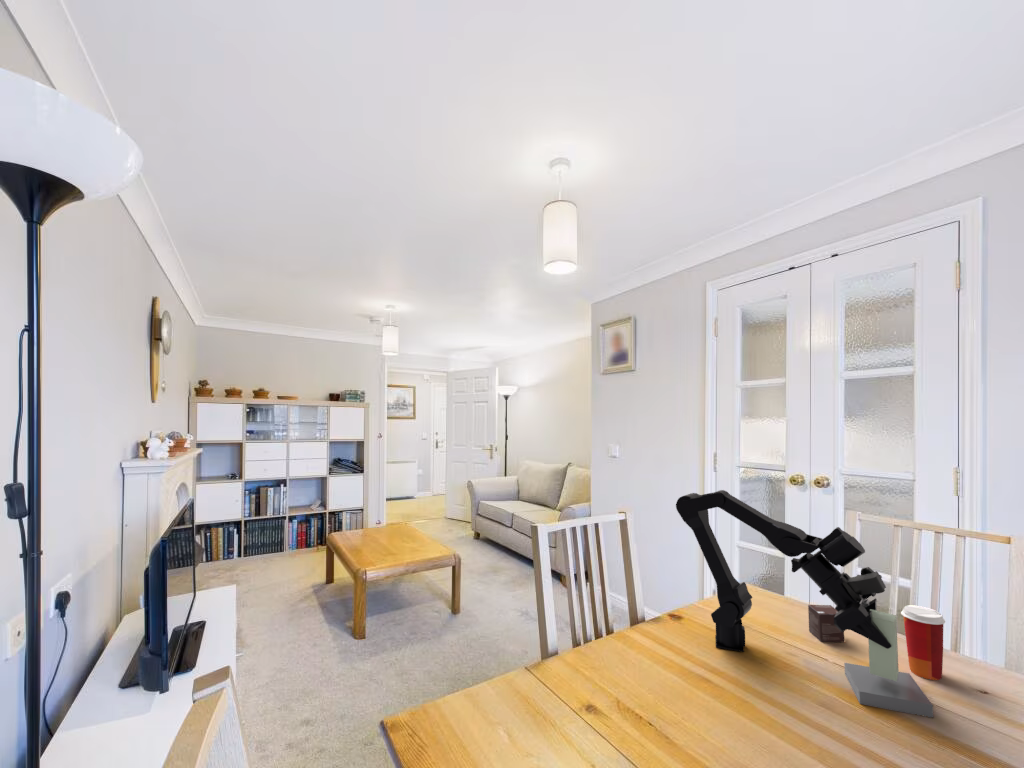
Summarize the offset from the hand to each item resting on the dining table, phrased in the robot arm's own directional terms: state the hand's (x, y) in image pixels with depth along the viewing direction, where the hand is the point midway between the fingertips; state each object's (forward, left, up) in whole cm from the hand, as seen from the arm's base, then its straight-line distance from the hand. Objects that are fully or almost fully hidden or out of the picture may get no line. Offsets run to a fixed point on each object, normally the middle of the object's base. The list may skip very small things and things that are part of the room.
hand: (890, 643), depth 101 cm
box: (-7, +25, -11) cm, 29 cm away
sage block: (-1, 0, -7) cm, 7 cm away
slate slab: (-1, 0, -11) cm, 11 cm away
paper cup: (+10, +13, -11) cm, 20 cm away
